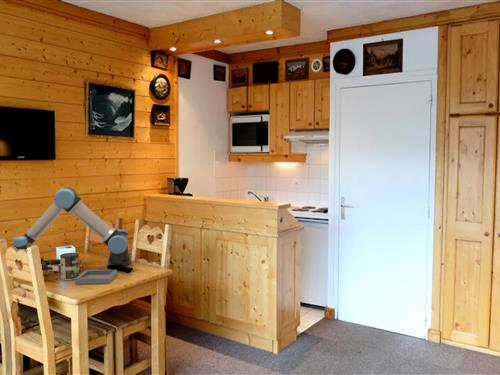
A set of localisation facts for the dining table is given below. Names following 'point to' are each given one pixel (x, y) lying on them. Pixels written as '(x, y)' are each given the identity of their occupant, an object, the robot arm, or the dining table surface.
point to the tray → (96, 277)
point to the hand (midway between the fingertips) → (65, 265)
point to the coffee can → (69, 266)
